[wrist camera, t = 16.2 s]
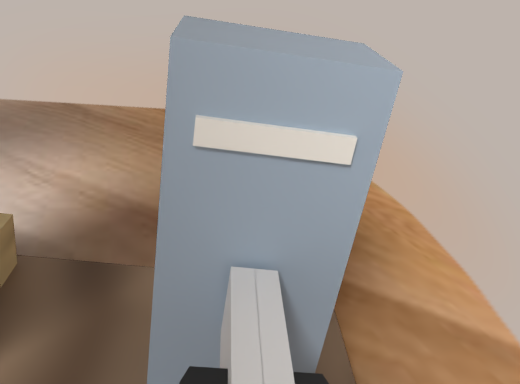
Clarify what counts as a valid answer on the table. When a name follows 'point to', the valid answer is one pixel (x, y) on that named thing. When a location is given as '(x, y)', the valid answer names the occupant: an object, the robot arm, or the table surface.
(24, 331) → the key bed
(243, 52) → the light blue tall block
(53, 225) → the table surface
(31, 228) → the table surface
